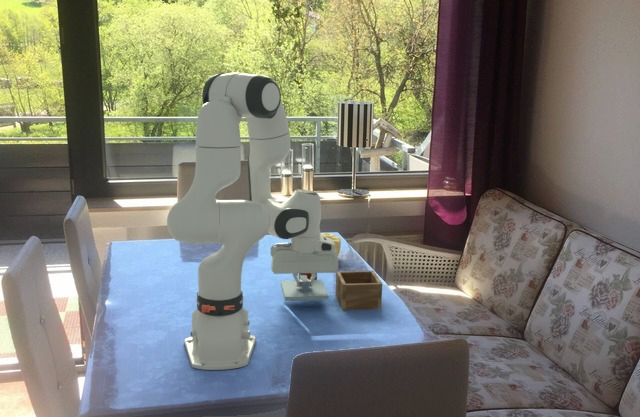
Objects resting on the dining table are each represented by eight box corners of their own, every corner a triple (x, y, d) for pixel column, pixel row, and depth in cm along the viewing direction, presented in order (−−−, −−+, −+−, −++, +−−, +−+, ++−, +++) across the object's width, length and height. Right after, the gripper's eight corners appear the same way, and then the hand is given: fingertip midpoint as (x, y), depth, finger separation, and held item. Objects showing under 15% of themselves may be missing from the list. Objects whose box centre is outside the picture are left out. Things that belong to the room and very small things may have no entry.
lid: (328, 302, 190) (329, 286, 189) (284, 303, 188) (285, 287, 187) (321, 286, 203) (322, 270, 201) (280, 287, 201) (281, 271, 199)
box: (380, 311, 194) (382, 283, 192) (342, 313, 192) (343, 284, 190) (372, 297, 206) (373, 270, 204) (335, 298, 204) (336, 271, 202)
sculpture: (313, 266, 234) (313, 237, 231) (305, 256, 245) (306, 229, 242) (343, 264, 236) (344, 236, 234) (334, 254, 248) (335, 227, 245)
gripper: (271, 246, 186) (270, 290, 190) (340, 245, 189) (338, 288, 193) (269, 239, 192) (269, 282, 196) (336, 238, 195) (335, 281, 199)
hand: (304, 285), depth 194 cm, fingers closed on lid
